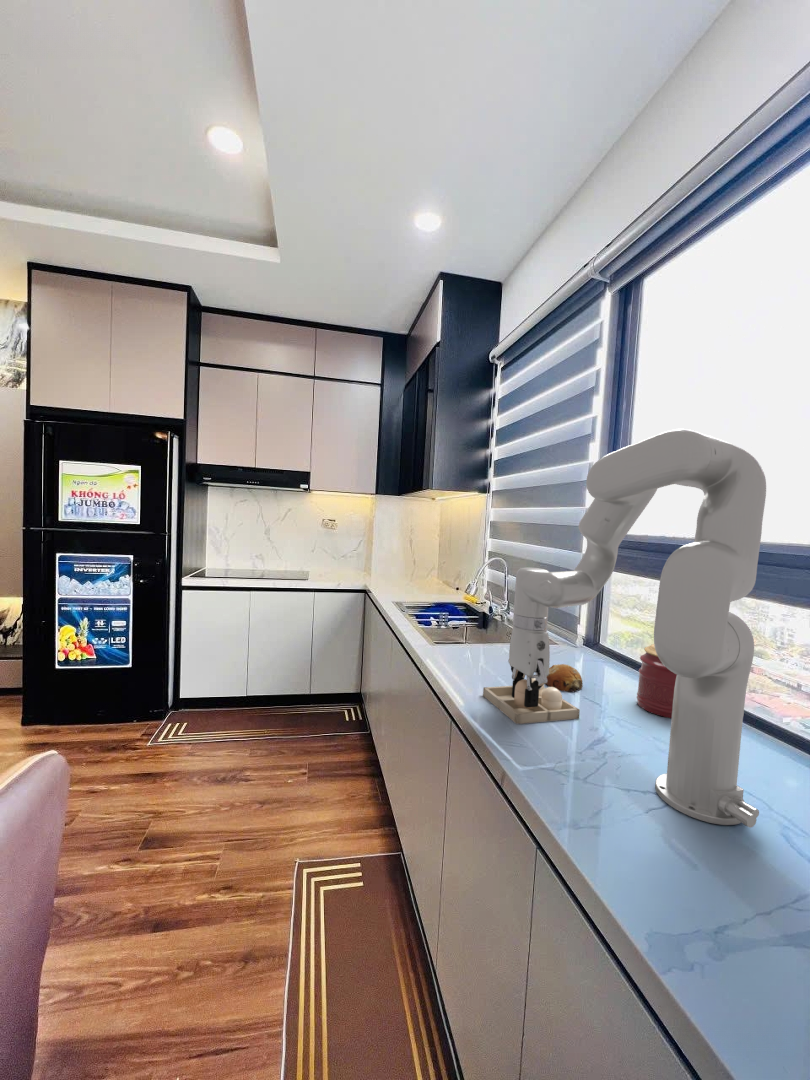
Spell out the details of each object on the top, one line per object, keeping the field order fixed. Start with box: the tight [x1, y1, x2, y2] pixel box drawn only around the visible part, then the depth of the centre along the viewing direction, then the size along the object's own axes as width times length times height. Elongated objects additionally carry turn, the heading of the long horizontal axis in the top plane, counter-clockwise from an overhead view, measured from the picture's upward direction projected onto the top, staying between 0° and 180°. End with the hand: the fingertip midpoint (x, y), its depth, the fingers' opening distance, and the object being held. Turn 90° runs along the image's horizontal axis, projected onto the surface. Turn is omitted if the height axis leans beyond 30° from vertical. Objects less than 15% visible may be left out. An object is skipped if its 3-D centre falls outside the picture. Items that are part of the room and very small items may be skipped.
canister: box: [636, 643, 677, 719], centre depth 113 cm, size 13×13×18 cm
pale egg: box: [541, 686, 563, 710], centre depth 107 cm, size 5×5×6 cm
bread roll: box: [545, 663, 584, 693], centre depth 125 cm, size 10×10×8 cm
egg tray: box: [482, 685, 581, 725], centre depth 109 cm, size 16×16×3 cm
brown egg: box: [514, 678, 534, 709], centre depth 104 cm, size 5×5×6 cm
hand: (524, 700), depth 104 cm, fingers closed on brown egg, 4 cm apart
